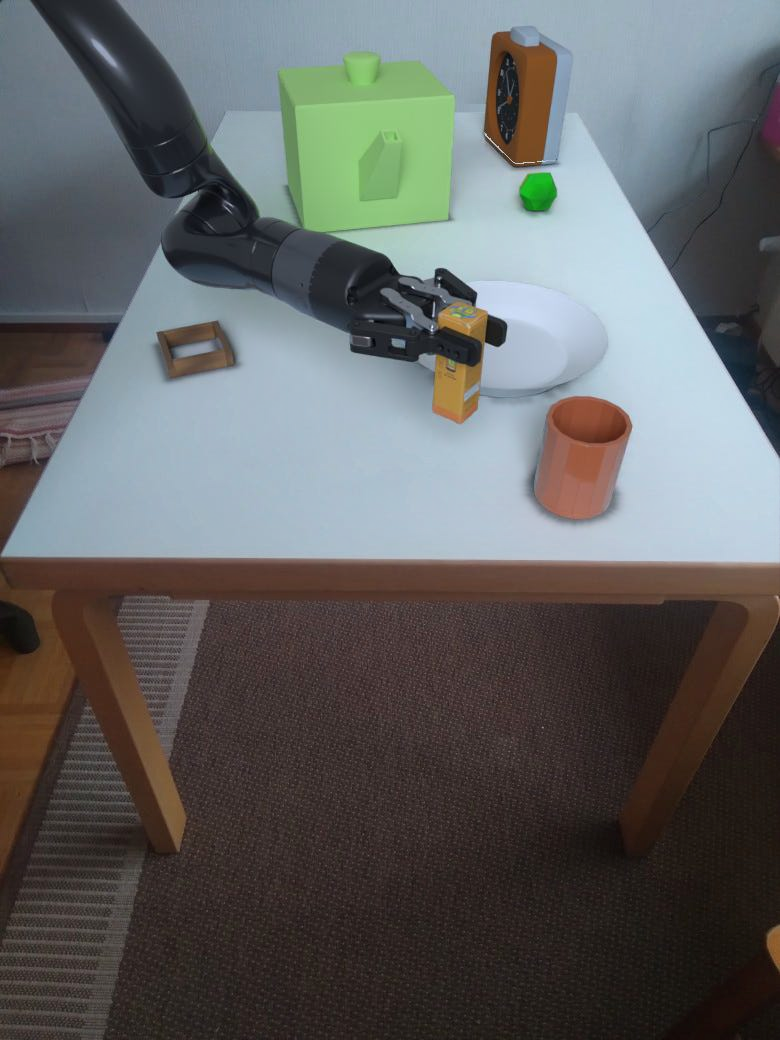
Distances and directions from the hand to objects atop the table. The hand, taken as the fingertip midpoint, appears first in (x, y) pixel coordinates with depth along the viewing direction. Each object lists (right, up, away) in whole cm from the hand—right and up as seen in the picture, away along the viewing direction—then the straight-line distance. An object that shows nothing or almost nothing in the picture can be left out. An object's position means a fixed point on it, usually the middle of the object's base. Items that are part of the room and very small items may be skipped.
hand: (491, 344), depth 60 cm
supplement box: (-2, -5, +7) cm, 9 cm away
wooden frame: (-32, +6, +31) cm, 45 cm away
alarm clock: (+17, +57, +83) cm, 102 cm away
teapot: (-12, +39, +64) cm, 76 cm away
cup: (+10, -12, +13) cm, 20 cm away
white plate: (+5, +6, +31) cm, 32 cm away
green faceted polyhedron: (+16, +39, +64) cm, 76 cm away
